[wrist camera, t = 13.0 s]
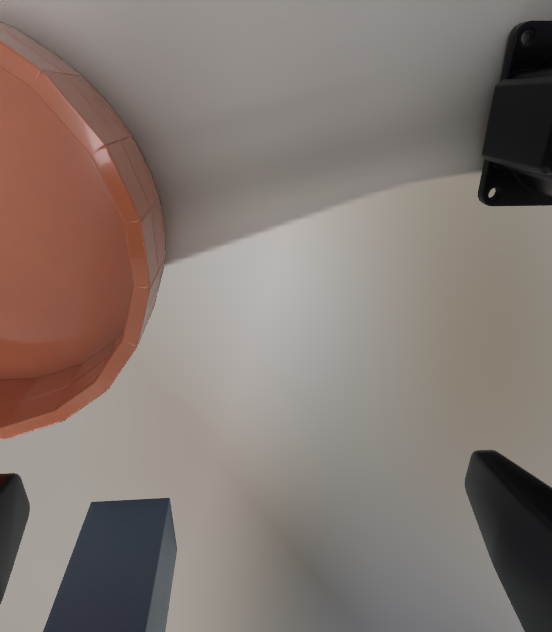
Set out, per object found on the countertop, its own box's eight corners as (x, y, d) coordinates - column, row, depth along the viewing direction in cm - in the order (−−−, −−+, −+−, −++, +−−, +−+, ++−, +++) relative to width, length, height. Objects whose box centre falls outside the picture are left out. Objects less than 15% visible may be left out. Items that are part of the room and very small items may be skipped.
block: (169, 497, 25) (141, 655, 18) (177, 548, 27) (154, 709, 20) (90, 501, 25) (30, 663, 18) (104, 553, 27) (54, 717, 20)
